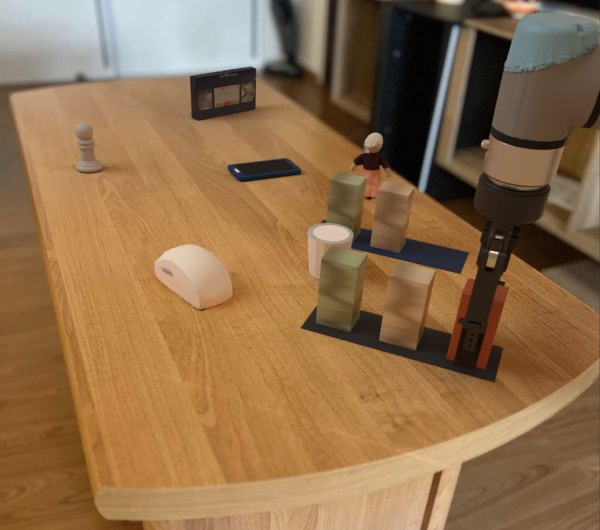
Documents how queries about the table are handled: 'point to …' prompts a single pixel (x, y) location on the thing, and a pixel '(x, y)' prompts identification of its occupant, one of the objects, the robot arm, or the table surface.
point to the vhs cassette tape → (223, 92)
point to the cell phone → (263, 169)
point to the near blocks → (398, 305)
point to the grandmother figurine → (372, 165)
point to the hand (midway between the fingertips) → (470, 348)
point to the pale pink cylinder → (326, 243)
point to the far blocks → (388, 209)
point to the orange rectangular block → (492, 321)
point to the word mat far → (416, 253)
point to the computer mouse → (194, 275)
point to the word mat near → (428, 349)
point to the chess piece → (86, 149)
